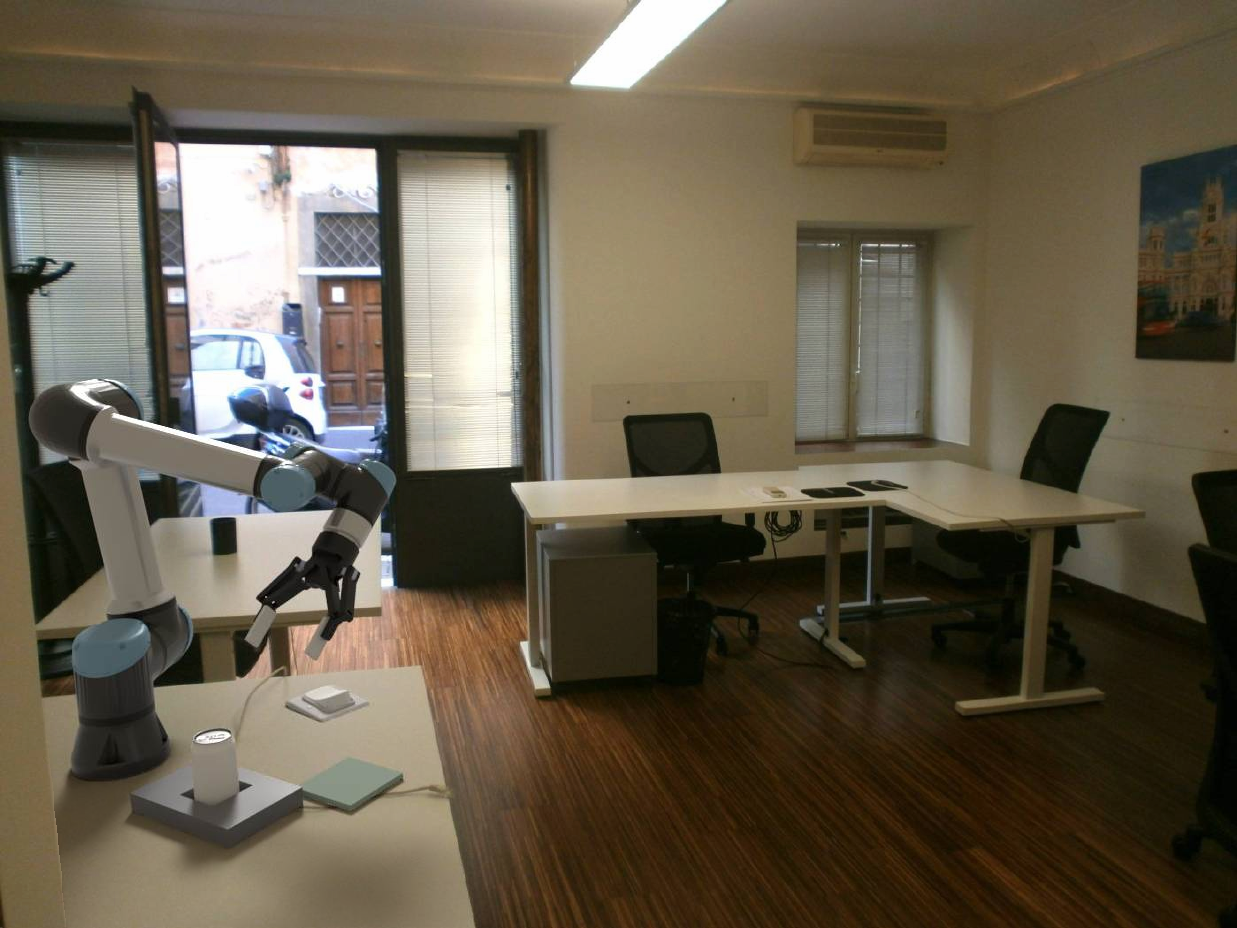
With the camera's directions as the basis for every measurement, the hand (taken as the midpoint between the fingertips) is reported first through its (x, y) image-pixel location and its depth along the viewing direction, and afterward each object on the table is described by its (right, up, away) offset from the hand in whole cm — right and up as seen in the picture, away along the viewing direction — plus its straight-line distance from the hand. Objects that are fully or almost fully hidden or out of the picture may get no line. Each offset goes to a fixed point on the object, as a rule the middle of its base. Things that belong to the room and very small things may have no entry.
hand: (280, 650), depth 158 cm
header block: (-7, -23, -8) cm, 25 cm away
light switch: (-1, -17, +31) cm, 36 cm away
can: (-7, -23, -8) cm, 25 cm away
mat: (+12, -22, -1) cm, 25 cm away
